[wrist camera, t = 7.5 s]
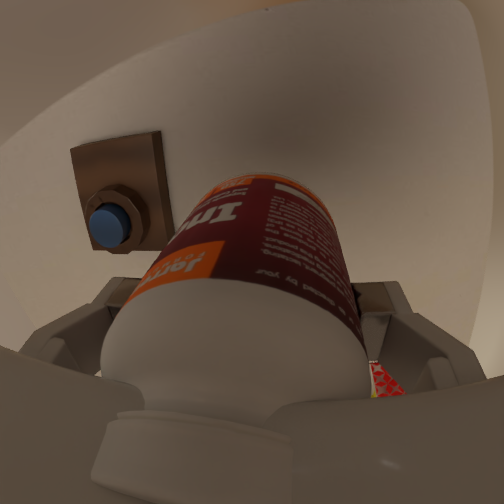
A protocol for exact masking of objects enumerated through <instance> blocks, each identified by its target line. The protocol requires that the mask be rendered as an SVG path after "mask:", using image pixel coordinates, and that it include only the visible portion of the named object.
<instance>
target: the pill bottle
mask: <svg viewBox="0 0 504 504" xmlns="http://www.w3.org/2000/svg"><path fill="white" fill-rule="evenodd" d="M100 366H101V374H102V377H103V378H107V379H111V380H116V381H120V382H125V383H128V384H131V385H134V386H136V387H137V388H138V389H139V390H140V391H141V392H142V395H143V398H144V400H145V406H144V408H145V410H143V411H126V412H120V413H117V416H118V420H115V421H112V422H109V423H108V424H107V428H106V433H105V436H104V438H103V441H102V444H101V447H100V450H99V452H98V454H97V457H96V460H95V462H94V465H93V468H92V471H91V480H92V481H93V482H94V483H96V484H98V485H100V486H102V487H105V488H108V489H111V490H113V491H116V492H119V493H122V494H125V495H129V496H132V497H135V498H138V499H142V500H145V501H149V502H153V503H157V504H291V501H292V462H293V453H294V449H293V448H292V447H291V446H290V444H289V443H290V441H291V440H292V438H291V437H290V436H288V435H284V434H281V433H278V432H274V431H271V430H267V429H262V426H263V424H264V423H265V421H266V420H267V418H268V417H270V416H271V415H272V414H273V413H274V412H275V411H276V410H277V409H279V408H280V407H281V406H284V405H287V404H290V403H296V402H303V401H314V400H344V399H361V398H371V393H372V384H371V374H370V368H369V361H368V355H367V350H366V346H365V342H364V337H363V333H362V329H361V324H360V320H359V316H358V312H357V307H356V303H355V300H354V294H353V291H352V287H351V283H350V279H349V275H348V271H347V268H346V264H345V261H344V257H343V253H342V249H341V246H340V242H339V239H338V235H337V231H336V228H335V225H334V222H333V220H332V218H331V216H330V214H329V212H328V210H327V208H326V207H325V205H324V204H323V202H322V201H321V200H320V199H319V198H318V197H317V196H316V195H315V194H314V193H313V192H312V191H311V190H310V189H309V188H307V187H306V186H305V185H303V184H301V183H299V182H298V181H296V180H294V179H291V178H289V177H286V176H283V175H279V174H274V173H266V172H254V173H246V174H241V175H238V176H234V177H231V178H229V179H227V180H225V181H223V182H221V183H220V184H218V185H217V186H215V187H214V188H213V189H212V190H210V191H209V192H208V193H207V194H206V195H205V196H204V197H203V198H202V199H201V201H200V202H199V203H198V204H197V206H196V207H195V208H194V209H193V211H192V212H191V214H190V215H189V216H188V217H187V219H186V220H185V222H184V223H183V224H182V226H181V227H180V228H179V229H178V231H177V232H176V234H175V235H174V236H173V238H172V239H171V240H170V242H169V243H168V244H167V246H166V247H165V248H164V249H163V250H162V252H161V253H160V255H159V256H158V258H157V259H156V260H155V261H154V263H153V264H152V266H151V267H150V269H149V270H148V271H147V273H146V274H145V275H144V277H143V278H142V280H141V281H140V283H139V284H138V285H137V287H136V288H135V290H134V291H133V293H132V294H131V295H130V297H129V299H128V300H127V301H126V303H125V304H124V306H123V307H122V308H121V310H120V311H119V313H118V314H117V315H116V317H115V319H114V321H113V323H112V325H111V326H110V328H109V330H108V332H107V334H106V337H105V339H104V342H103V346H102V351H101V358H100Z"/></svg>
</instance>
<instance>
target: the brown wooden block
mask: <svg viewBox="0 0 504 504" xmlns="http://www.w3.org/2000/svg"><path fill="white" fill-rule="evenodd" d="M70 152H71V158H72V164H73V169H74V174H75V179H76V184H77V189H78V194H79V198H80V202H81V207H82V211H83V215H84V219H85V223H86V226H87V230H88V234H89V237H90V241H91V244H92V248H93V250H106V251H108V252H110V253H112V254H128V253H130V252H131V251H162V250H163V249H164V248H165V247H166V246H167V244H168V243H169V242H170V240H171V239H172V238H173V236H174V235H175V231H174V225H173V219H172V213H171V206H170V200H169V193H168V186H167V179H166V172H165V164H164V156H163V148H162V139H161V131H155V132H148V133H142V134H135V135H129V136H123V137H118V138H112V139H107V140H102V141H97V142H92V143H88V144H83V145H80V146H77V147H74V148H71V149H70ZM106 204H116V205H118V206H120V207H121V208H122V209H124V211H125V212H126V213H127V215H128V217H129V219H130V223H131V228H130V232H129V234H128V236H127V237H126V238H125V239H124V240H123V241H122V242H121V243H120V244H119V245H118V246H116V247H113V248H108V247H104V246H102V245H100V244H99V243H98V242H97V241H96V240H95V239H94V238H93V236H92V234H91V232H90V228H89V221H90V218H91V216H92V214H93V213H94V212H95V211H97V210H98V209H99V208H101V207H102V206H104V205H106Z"/></svg>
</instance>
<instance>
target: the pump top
mask: <svg viewBox="0 0 504 504" xmlns="http://www.w3.org/2000/svg"><path fill="white" fill-rule="evenodd" d="M89 228H90V232H91V234H92V236H93V238H94V239H95V240H96V241H97V242H98V243H99V244H100V245H102V246H104V247H108V248H113V247H116V246H118V245H119V244H120V243H121V242H122V241H123V240H124V239H125V238H126V237H127V236H128V234H129V232H130V228H131V223H130V219H129V217H128V215H127V213H126V212H125V211H124V209H122V208H121V207H120V206H118V205H116V204H106V205H104V206H102V207H101V208H99V209H98V210H97V211H95V212H94V213H93V214H92V216H91V218H90V221H89Z"/></svg>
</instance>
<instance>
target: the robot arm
mask: <svg viewBox="0 0 504 504" xmlns="http://www.w3.org/2000/svg"><path fill="white" fill-rule="evenodd" d="M141 280H142V278H126V277H113V278H111V280H110V281H109V282H108V283H107V284H106V286H105V287H104V288H103V289H102V290H101V292H100V293H99V294H98V295H97V297H96V298H95V299H94V300H93V302H92V303H91V304H88V303H87V304H85V305H83V306H81V307H79V308H78V309H76V310H74V311H72V312H70V313H68V314H66V315H64V316H62V317H60V318H58V319H56V320H55V321H53V322H51V323H49V324H47V325H45V326H43V327H41V328H40V329H38V330H36V331H34V333H33V334H32V335H31V336H30V338H29V339H28V340H27V341H26V343H25V344H24V345H23V347H22V348H21V349H20V351H19V352H15V351H13V350H10V349H8V348H5V347H3V346H0V504H157V503H153V502H149V501H145V500H142V499H138V498H135V497H132V496H129V495H125V494H122V493H119V492H116V491H113V490H111V489H108V488H105V487H102V486H100V485H98V484H96V483H94V482H93V481H92V480H91V471H92V468H93V465H94V462H95V460H96V457H97V454H98V452H99V450H100V447H101V444H102V441H103V438H104V436H105V433H106V428H107V424H108V423H109V422H112V421H115V420H118V416H117V413H120V412H126V411H143V410H145V408H144V406H145V400H144V398H143V395H142V392H141V391H140V390H139V389H138V388H137V387H136V386H134V385H131V384H128V383H125V382H120V381H116V380H111V379H107V378H103V377H98V376H94V375H95V374H96V373H97V372H98V371H100V370H101V366H100V358H101V351H102V346H103V342H104V339H105V337H106V334H107V332H108V330H109V328H110V326H111V325H112V323H113V321H114V319H115V317H116V315H117V314H118V313H119V311H120V310H121V308H122V307H123V306H124V304H125V303H126V301H127V300H128V299H129V297H130V295H131V294H132V293H133V291H134V290H135V288H136V287H137V285H138V284H139V283H140V281H141ZM351 287H352V291H353V294H354V300H355V303H356V307H357V312H358V316H359V320H360V324H361V329H362V333H363V337H364V342H365V346H366V350H367V355H368V361H373V360H378V361H377V362H378V363H379V364H380V365H381V366H382V367H383V368H384V369H385V370H386V371H387V372H388V374H389V375H390V376H391V377H392V378H393V379H394V380H395V381H396V382H397V383H398V384H399V386H400V387H401V388H402V389H403V390H404V391H405V392H406V393H407V394H403V395H394V396H385V397H374V398H361V399H344V400H314V401H303V402H296V403H290V404H287V405H284V406H281V407H280V408H279V409H277V410H276V411H275V412H274V413H273V414H272V415H271V416H270V417H268V418H267V420H266V421H265V423H264V424H263V426H262V429H267V430H271V431H274V432H278V433H281V434H284V435H288V436H290V437H291V438H292V440H291V441H290V443H289V444H290V446H291V447H292V448H293V449H294V453H293V462H292V501H291V504H504V375H502V376H498V377H494V378H490V379H487V378H486V376H485V374H484V372H483V370H482V367H481V365H480V363H479V361H478V359H477V357H476V355H475V353H474V351H473V350H471V349H470V348H469V347H467V346H466V345H464V344H463V343H461V342H460V341H458V340H457V339H456V338H454V337H453V336H451V335H450V334H448V333H447V332H445V331H444V330H442V329H441V328H439V327H438V326H436V325H435V324H433V323H432V322H431V321H429V320H428V319H426V318H425V317H423V316H422V315H420V314H419V313H413V311H412V309H411V307H410V305H409V303H408V301H407V299H406V296H405V294H404V292H403V290H402V288H401V286H400V284H399V282H397V281H385V282H366V283H351Z"/></svg>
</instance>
